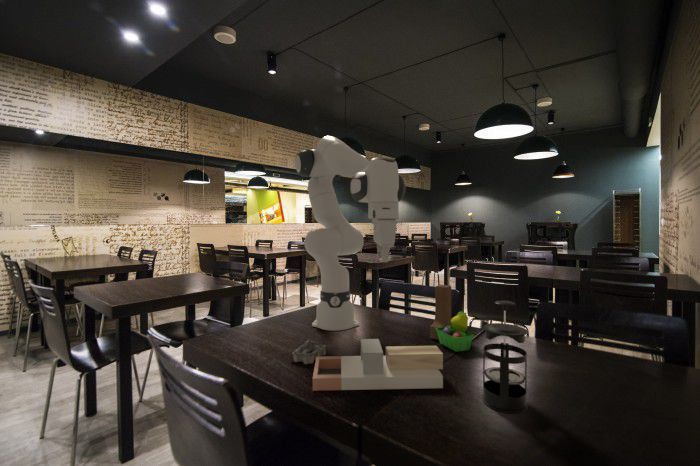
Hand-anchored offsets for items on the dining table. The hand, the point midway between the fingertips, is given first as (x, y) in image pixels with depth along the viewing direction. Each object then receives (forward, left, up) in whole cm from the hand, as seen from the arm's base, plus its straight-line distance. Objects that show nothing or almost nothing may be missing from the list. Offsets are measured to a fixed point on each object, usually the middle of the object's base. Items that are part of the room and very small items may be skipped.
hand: (382, 259), depth 102 cm
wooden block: (-21, +24, -30) cm, 44 cm away
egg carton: (-4, -22, -30) cm, 38 cm away
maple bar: (+11, +7, -27) cm, 30 cm away
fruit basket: (-11, +26, -30) cm, 41 cm away
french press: (+25, +25, -30) cm, 46 cm away
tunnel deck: (+11, -3, -30) cm, 32 cm away
